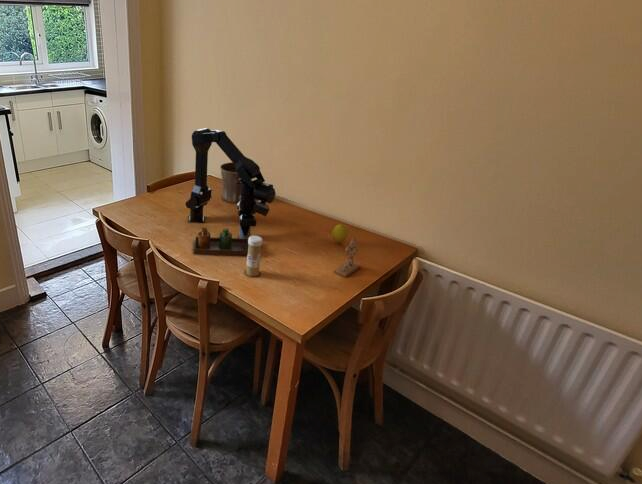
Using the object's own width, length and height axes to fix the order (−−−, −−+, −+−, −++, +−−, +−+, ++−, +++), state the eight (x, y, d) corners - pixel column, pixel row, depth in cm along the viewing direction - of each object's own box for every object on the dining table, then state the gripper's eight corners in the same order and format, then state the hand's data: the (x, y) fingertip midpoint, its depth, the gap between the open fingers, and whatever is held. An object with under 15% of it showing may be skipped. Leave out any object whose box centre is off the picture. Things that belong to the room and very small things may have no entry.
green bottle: (219, 244, 158) (219, 226, 155) (231, 244, 157) (232, 227, 154) (219, 249, 154) (219, 232, 150) (231, 250, 153) (232, 232, 150)
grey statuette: (348, 263, 145) (354, 233, 140) (359, 267, 142) (365, 237, 137) (335, 272, 140) (341, 241, 135) (346, 277, 137) (352, 245, 132)
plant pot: (254, 204, 195) (257, 172, 188) (220, 204, 195) (221, 172, 188) (249, 192, 209) (251, 162, 202) (217, 192, 210) (218, 162, 203)
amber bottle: (198, 243, 158) (198, 226, 155) (210, 243, 158) (210, 226, 155) (197, 249, 154) (198, 231, 151) (209, 249, 154) (210, 231, 151)
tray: (195, 241, 161) (195, 236, 160) (254, 243, 159) (255, 238, 158) (193, 253, 152) (193, 249, 151) (257, 256, 150) (257, 251, 149)
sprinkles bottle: (243, 273, 139) (245, 238, 134) (250, 268, 143) (253, 233, 137) (255, 278, 137) (258, 242, 131) (261, 272, 140) (265, 237, 134)
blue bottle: (238, 234, 166) (240, 216, 163) (249, 235, 166) (251, 217, 162) (239, 239, 162) (240, 221, 159) (250, 240, 162) (252, 221, 158)
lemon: (345, 240, 161) (349, 222, 157) (346, 247, 156) (349, 228, 153) (330, 238, 162) (334, 220, 159) (330, 245, 158) (334, 226, 154)
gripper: (272, 206, 147) (268, 244, 154) (266, 188, 164) (263, 223, 171) (240, 205, 148) (238, 243, 155) (238, 187, 165) (236, 222, 172)
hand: (244, 232), depth 163 cm, fingers closed on blue bottle, 4 cm apart
